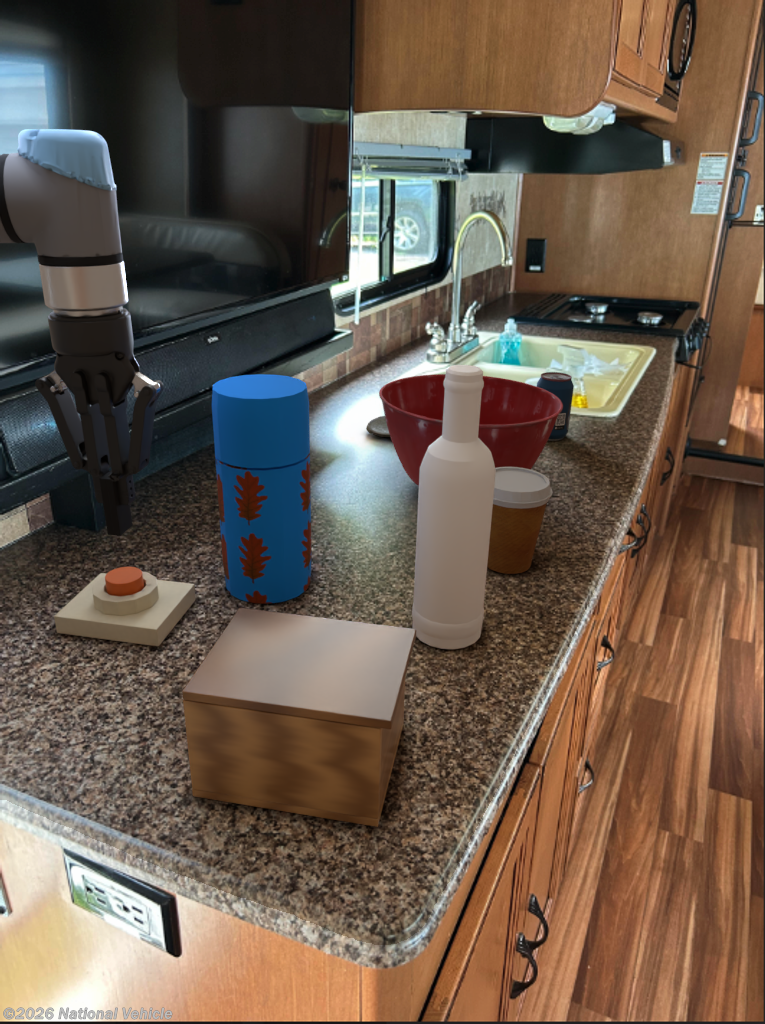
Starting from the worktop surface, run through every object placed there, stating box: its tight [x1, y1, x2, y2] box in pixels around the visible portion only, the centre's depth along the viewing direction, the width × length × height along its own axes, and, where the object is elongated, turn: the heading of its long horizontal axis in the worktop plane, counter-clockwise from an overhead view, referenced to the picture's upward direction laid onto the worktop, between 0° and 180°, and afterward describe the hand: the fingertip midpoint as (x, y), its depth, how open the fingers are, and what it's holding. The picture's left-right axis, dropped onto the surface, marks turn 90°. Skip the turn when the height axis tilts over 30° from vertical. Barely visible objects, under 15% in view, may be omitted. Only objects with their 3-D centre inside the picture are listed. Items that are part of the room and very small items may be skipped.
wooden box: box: [182, 679, 406, 828], centre depth 66 cm, size 16×13×10 cm
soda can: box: [536, 371, 575, 442], centre depth 148 cm, size 7×7×12 cm
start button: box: [105, 566, 144, 596], centre depth 86 cm, size 4×4×2 cm
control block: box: [53, 571, 197, 647], centre depth 87 cm, size 12×10×4 cm
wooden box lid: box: [181, 607, 417, 729], centre depth 64 cm, size 16×13×1 cm
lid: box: [365, 415, 391, 438], centre depth 149 cm, size 11×10×5 cm
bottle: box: [411, 364, 496, 650], centre depth 81 cm, size 8×8×30 cm
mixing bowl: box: [378, 373, 563, 487], centre depth 122 cm, size 28×28×15 cm
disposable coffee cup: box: [487, 467, 553, 575], centre depth 100 cm, size 10×10×12 cm
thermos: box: [211, 373, 313, 605], centre depth 91 cm, size 11×11×25 cm
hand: (120, 529), depth 84 cm, fingers closed
